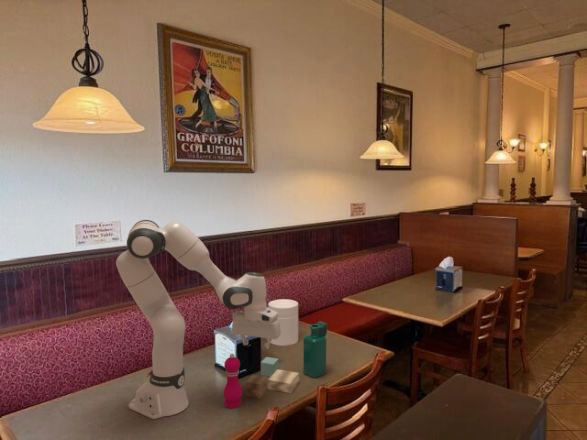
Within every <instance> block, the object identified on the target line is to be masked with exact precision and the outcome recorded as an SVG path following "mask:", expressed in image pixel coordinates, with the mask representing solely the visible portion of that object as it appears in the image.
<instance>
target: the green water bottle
mask: <svg viewBox="0 0 587 440" xmlns="http://www.w3.org/2000/svg"><path fill="white" fill-rule="evenodd" d="M308 328H309V329H310V333H309V334H306V335H305V336H304V337H303V342H302V343H303V346H302V351H303V361H302V362H303V363H302V365H303V369H302V370H303V373H304V374H305V375H307V376H309V377H311V378H314V379H315V378H316V379H317V378H319V377H321V376H324V375H325V374H327V337H326V336H327V334H328V323H326V322H323V321H317V323H314V324H313V323H312V324H310V325H308Z"/></svg>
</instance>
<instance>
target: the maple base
mask: <svg viewBox="0 0 587 440" xmlns="http://www.w3.org/2000/svg"><path fill="white" fill-rule="evenodd" d="M299 383H300V373H299V372H295V371H289V370H284V369H280V368H279V369H277V370H276V371H275V373H274V374H273V375H272V376H271V377H269V378H268V379H267V389H268V390H271V391H276V392H282V393H286V394H292V392H293V391H294V390H295V388H296V387H297V386H298V384H299Z"/></svg>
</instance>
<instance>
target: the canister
mask: <svg viewBox="0 0 587 440" xmlns="http://www.w3.org/2000/svg"><path fill="white" fill-rule="evenodd" d="M267 304H268V305H267V307H268V308H270V309H272V310H274V311H276V312H278V317H277V319H278V320H279V322H280V329H281V335H280V336H279V337H278V338H277V339H272V340H271V342H270V344H271V345H275V346H281V347H282V346H284V347H285V346H292V345H294V344H297V342H298V341H299V302H298V301H296V300H294V299H289V298H288V299H287V298H286V299H285V298H281V299H274V300H271V301H269V302H268V303H267Z"/></svg>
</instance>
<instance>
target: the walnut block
mask: <svg viewBox="0 0 587 440" xmlns="http://www.w3.org/2000/svg"><path fill="white" fill-rule="evenodd" d="M266 377H267V376H261V375H260V376H259V375H254V374H252V375H251V376H250V377H248V379H247V380H246V381H245V396H246V397H250V398H255V399H258V400H259V399H261V398H262V396H263V395H264V394H266V392H267V378H266Z"/></svg>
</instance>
